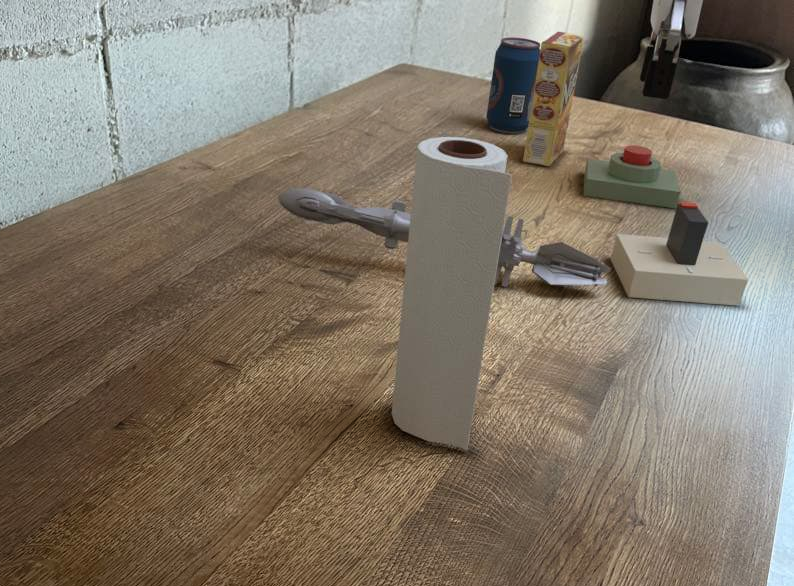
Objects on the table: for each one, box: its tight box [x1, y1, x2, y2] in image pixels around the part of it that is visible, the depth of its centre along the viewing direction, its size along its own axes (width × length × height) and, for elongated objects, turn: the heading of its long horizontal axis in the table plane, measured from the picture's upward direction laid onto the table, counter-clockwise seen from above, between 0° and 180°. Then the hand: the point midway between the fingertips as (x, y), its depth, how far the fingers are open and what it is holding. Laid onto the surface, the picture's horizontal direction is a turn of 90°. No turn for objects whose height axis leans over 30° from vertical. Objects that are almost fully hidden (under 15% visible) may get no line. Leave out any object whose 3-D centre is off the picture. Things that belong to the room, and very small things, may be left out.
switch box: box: [583, 152, 681, 210], centre depth 122 cm, size 12×9×4 cm
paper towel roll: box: [391, 136, 513, 452], centre depth 67 cm, size 7×6×21 cm
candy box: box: [522, 31, 585, 167], centre depth 127 cm, size 9×4×15 cm, turn 159°
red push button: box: [622, 145, 653, 166], centre depth 121 cm, size 4×4×2 cm
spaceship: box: [278, 187, 612, 288], centre depth 95 cm, size 8×35×8 cm
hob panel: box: [610, 233, 749, 307], centre depth 100 cm, size 12×10×3 cm
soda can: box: [486, 37, 541, 135], centre depth 138 cm, size 7×7×12 cm
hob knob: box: [666, 201, 709, 265], centre depth 97 cm, size 5×2×5 cm, turn 0°
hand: (653, 88), depth 115 cm, fingers open, 7 cm apart
